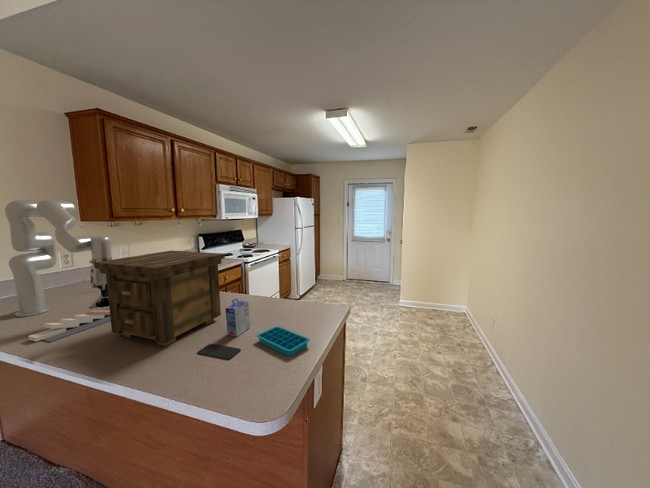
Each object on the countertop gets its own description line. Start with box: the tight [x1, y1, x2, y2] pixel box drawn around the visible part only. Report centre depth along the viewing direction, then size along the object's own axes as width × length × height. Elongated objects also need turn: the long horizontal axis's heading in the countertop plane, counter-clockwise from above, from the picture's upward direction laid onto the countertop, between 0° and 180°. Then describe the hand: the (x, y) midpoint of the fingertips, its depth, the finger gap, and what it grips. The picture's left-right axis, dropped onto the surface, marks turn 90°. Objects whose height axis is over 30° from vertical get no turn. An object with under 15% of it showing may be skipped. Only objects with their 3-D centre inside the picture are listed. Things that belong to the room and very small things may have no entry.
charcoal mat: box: [26, 308, 111, 343], centre depth 125 cm, size 17×33×1 cm, turn 161°
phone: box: [197, 343, 242, 361], centre depth 99 cm, size 7×1×15 cm
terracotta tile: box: [85, 309, 110, 316], centre depth 131 cm, size 5×2×10 cm
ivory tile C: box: [43, 322, 80, 329], centre depth 117 cm, size 5×2×10 cm
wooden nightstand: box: [94, 250, 226, 347], centre depth 118 cm, size 35×35×33 cm
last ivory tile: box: [27, 328, 66, 342], centre depth 112 cm, size 5×2×10 cm
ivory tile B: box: [59, 317, 93, 324], centre depth 122 cm, size 5×2×10 cm
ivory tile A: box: [73, 313, 105, 320], centre depth 126 cm, size 5×2×10 cm
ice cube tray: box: [256, 325, 311, 357], centre depth 104 cm, size 12×20×3 cm, turn 51°
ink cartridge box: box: [224, 297, 251, 337], centre depth 115 cm, size 10×6×14 cm, turn 161°
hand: (105, 296), depth 133 cm, fingers closed
